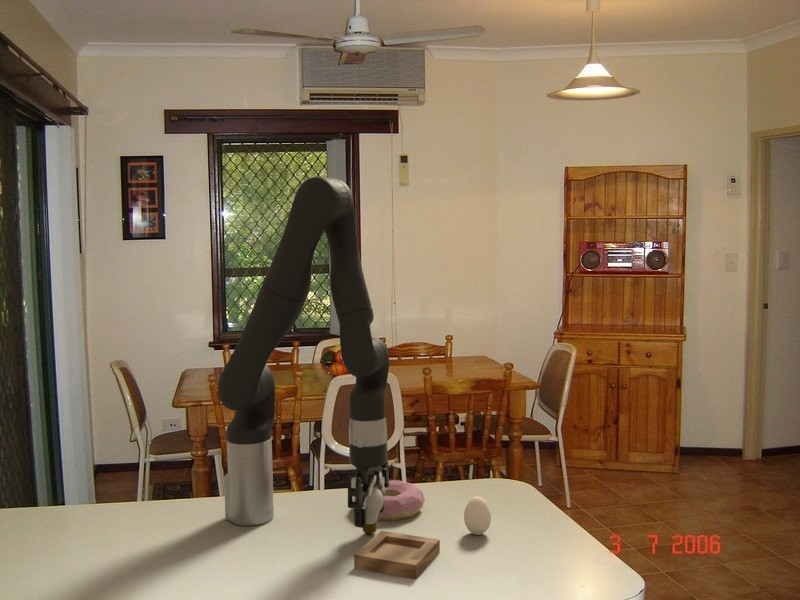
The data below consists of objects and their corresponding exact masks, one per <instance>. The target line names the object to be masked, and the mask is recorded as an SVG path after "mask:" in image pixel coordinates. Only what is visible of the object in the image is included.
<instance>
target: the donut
mask: <svg viewBox="0 0 800 600" xmlns="http://www.w3.org/2000/svg"><path fill="white" fill-rule="evenodd" d="M384 482H385V481H384ZM385 489H386V491H385V494H384V511H383V512H382V513H379V514H378V518H377V521H392V522H393V521H397V520H398V521H399V520H403V519H407V518H412V517H413V516H414V515H415V514H417V513H418V512H419V511H421V509H422V508H423V506H424V502H425V500H426V499H425V496H424V493H423V491H422V490H421V489H419V487H418V486H416V485H415V484H413V483H411V482H407V481H402V480H390V479H389V487H388V488H385Z"/></svg>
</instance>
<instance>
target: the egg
mask: <svg viewBox="0 0 800 600" xmlns="http://www.w3.org/2000/svg"><path fill="white" fill-rule="evenodd" d="M463 521H464V524H465V528H467V530H468V531H469V532H470V534H472V535H476V536H481V535H483V534H484V533H486V532H487V531H488V529H489V528H490V525H491V522H492V513H491V509H490V506H489V504H488V502H487V501H486V500H485V499H484V498H483V497H480V496H474V497H472V498H470V500H469V501H468V502H467V504H466V506H465V508H464V512H463Z"/></svg>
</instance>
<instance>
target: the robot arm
mask: <svg viewBox="0 0 800 600" xmlns="http://www.w3.org/2000/svg"><path fill="white" fill-rule="evenodd" d="M355 216H356V215H355V206H354V198H353V194H352V192H351V189H350V187H349V186H348V185H347V184H346V183H345V181H343V180H341V179H339V178H335V177H327V176H312V177H309V178H307V179H306V180H304V181H303V182H302V183H301V185H299V186H298V189H297V190H296V192H295V194H294V198H293V201H292V204H291V207H290V210H289V215H288V217H287V220H286V224H285V227H284V230H283V235H282V237H281V240H280V242H279V244H278V246H277V248H276V251H275V254H274V256H273V257H272V261H271V263H270V266H269V268H268V270H267V273H266V275H265V277H264V279H263V281H262V284H261V286H260V289H259V291H258V293H257V296H256V299H255V301H254V304H253V306H252V309H251V312H250V314H249V316H248V318H247V320H246V323H245V326H244V328H243V331H242V334H241V335H240V338H239V340H238V343H237V345H236V346H235V348H234V350H233V351H232V354H231V355H230V358H229V359H228V361H227V363H226V364H225V366H224V368H223V370H222V372H221V374H220V376H219V378H218V383H217V394H218V399H219V401H220V402H221V404H222V405H223V406H224V407H225V408H226V409H228V410H231V411H235V413H234V416H233V418H232V419H231V421H230V422H229V423H228V425H227V427H226V452H227V453H226V454H227V473H226V474H225V475H224V477H223V486H224V487H223V488H224V490H223V491H224V511H225V512H224V514H225V515H224V516H225V520H226V521H229V522H230V523H232V524H235V525H236V526H237V525H238V526H244V527H246V526H258V525H262V524H265V523H268V522H270V521H271V520H273V518H274V513H275V512H274V509H275V507H274V483H273V482H274V478H273V476H274V475H273V471H274V470H273V444H272V442H273V441H272V430H273V428H274V424H275V420H276V419H275V418H276V383H275V379H274V375H273V372H272V370H271V369H270V367H269V366H268V365H267V362H268V361H269V358H270V357H271V356H272V354H273V352H274V351H275V349H276V348H277V347H278V346H279V344H280V343H281V342H282V341H283V339H284V338H285V337H286V336H287V334H288V333H289V332H290V331H291V329H293V326H294V325H295V323H296V322H297V320H298V319H299V317H300V315H301V312H302V311H303V308H304V305H305V304H306V301H307V299H308V296H309V294H310V291H311V284H312V277H313V276H312V275H313V274H312V273H313V272H312V271H313V259H314V254H315V251H316V249H317V246H318V244H319V242H320V239H321V237H322V236H323V233H324V234H325V236H326V240H327V243H328V248H329V258H330V260H329V261H330V266H329V267H330V270H329V271H330V272H329V282H330V283H329V286H330V293H331V297H332V303H333V306H334V309H335V314H336V317H337V320H338V323H339V324H338V325H339V342H340V343H339V344H340V355H341V360H342V362H343V365H344V367H345V369H346V370H347V372H348V374H350V375H351V376H353V377H355V385H354V387H352V389H351V391H350V394H349V423H348V447H349V448H348V450H349V451H348V453H349V455H348V456H349V457H348V458H349V459H348V460H349V463H350V465H352V466H354V467H355V469H356V471H355V476H349V477H348V479H347V508H348V509H353V511H354V513H353V517H354V519H353V520H354V521H353V522H354V526H355V527H356V528H360V529H361V528H362V529H363V528H364V527H365V526H366V508H365V507H366V504H367V500H368V499H369V498H370V497H371V493H372V489H373V488H374V487H377V488H378V489H379V490H380V491H381V492H382V494H383V498H384V494H385V491H386V489H385V488H388V487H389V480H390V477H389V475H390V474H389V473H390V472H389V460H388V428H387V419H386V397H385V396H386V395H385V394H386V388H387V385H388V384H387V383H388V377H389V370H390V353H389V350H388V347H387V345H386V344H385V342H383V340H381V339H380V338H377V337H373V336H372V331H371V324H372V323H373V320H374V311H373V307H372V303H371V299H370V295H369V291H368V286H367V284H366V281H365V280H366V279H365V275H364V270H363V266H362V261H361V255H360V248H359V242H358V234H357V226H356V217H355ZM384 481H385V482H384ZM362 491H364V492H362ZM362 498H363V500H362ZM383 511H384V504H383V507H382V509H381V510H380V512H379V513H382V512H383Z"/></svg>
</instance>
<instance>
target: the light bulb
mask: <svg viewBox="0 0 800 600" xmlns="http://www.w3.org/2000/svg"><path fill="white" fill-rule="evenodd" d="M362 492H364V491H362ZM362 500H363V498H362ZM383 504H384V498H383V494H382V492H381V491H380V490H379V489H378V488H377V487H374V488H373V489H372V493H371V497H370V498H369V499H368V500H367V504H366V507H365V508H366V526H365V527H364V528H362V532H363V533H364V534H365V535H367V536H372V535H373V534H374V533H376V531H377V521H378V520H377V518H378V514H379V512H380V510H381V509H382V507H383Z"/></svg>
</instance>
